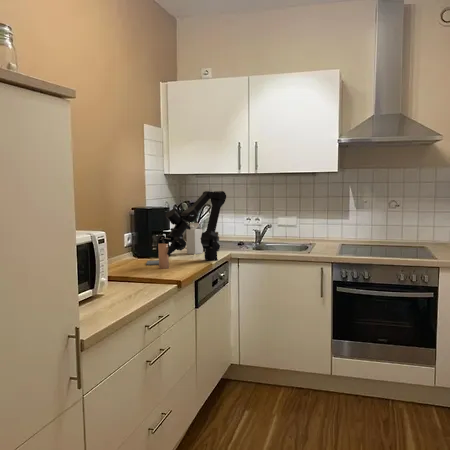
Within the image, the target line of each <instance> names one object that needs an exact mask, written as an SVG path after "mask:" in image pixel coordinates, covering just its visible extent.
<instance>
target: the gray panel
mask: <svg viewBox="0 0 450 450" xmlns="http://www.w3.org/2000/svg"><path fill="white" fill-rule="evenodd" d="M145 264H146V265H145V266H159V259H158V260H155V259H154V260H146V263H145Z"/></svg>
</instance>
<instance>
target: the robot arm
mask: <svg viewBox="0 0 450 450" xmlns="http://www.w3.org/2000/svg"><path fill="white" fill-rule="evenodd" d="M226 200H227V194H226V192H225V191H223V190H215V191H212V190H204V191H203V192H202V194H201V195H200V196H199V197H198V198H197V200H195V202H194V203H193V204H192V205H191V206H190V207H188V208H186V209H184V211H181V213H180V212H179V211H178V209H177V208H172V209H170V210H169V211H167V212H166V214H165V217H166V219H167V220H168V221H169V222H170V224H171V225H174V227H172V228H170V232H169V234H168V233H167V234H166V236H165V234H158V235H157V236H156V237H155V239H156V249H155V253H156V254H158V255H159V250H158V244H160V243H168V244H170V245H169V246H168V253H167V254H168V255H169V256H170V255H171V254H173V252H175V251H181V252H182V251H183V250H184V249H185V248H187V241H185V240H184V233H185V232H186V229H189V230H190V229H191V228H190V223H195V221H196V220H197V218H198V216H199V215H198V214H199V212H200V210H202V209H203V207H204V206H205V205H206V204H207V203H208V202H209V201H210V203H211V210H210V213H209V218H208V222H207V226H206V230H205V231H202V236H201V238H200V239H201V244H202V246H203V249H206V251H204V260H205V261H207V262H208V261H210V262H211V261H218V260H219V259H218V251H219V250H220V248H221V244H220V243H219V244H218V242H217V241H216V239H217V237H216V233H215V232H216V230H217V225H218V221H219V216H220V212H221V207H223V205H224V204H225V202H226ZM218 249H219V250H218ZM217 250H218V251H217Z"/></svg>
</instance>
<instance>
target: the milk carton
mask: <svg viewBox="0 0 450 450" xmlns="http://www.w3.org/2000/svg"><path fill="white" fill-rule="evenodd" d="M189 224H190V228H191V229H190V230H189V229H186V230H185V232H186V254H187V255H188V254H189V255H199V254H204V250H203V246H202V244H201V239H200V238H201V236H202V232H203V228H202V227H201V226H200V225H199V222H189Z"/></svg>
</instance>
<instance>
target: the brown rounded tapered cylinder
mask: <svg viewBox="0 0 450 450" xmlns="http://www.w3.org/2000/svg"><path fill="white" fill-rule="evenodd" d="M158 250H159V253H158V260H159V265H158V269H160V270H166V269H170V262H169V260H170V259H169V258H170V257H169V256H170V255H168V254H167V253H168V250H169V243H160V244H158Z"/></svg>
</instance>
